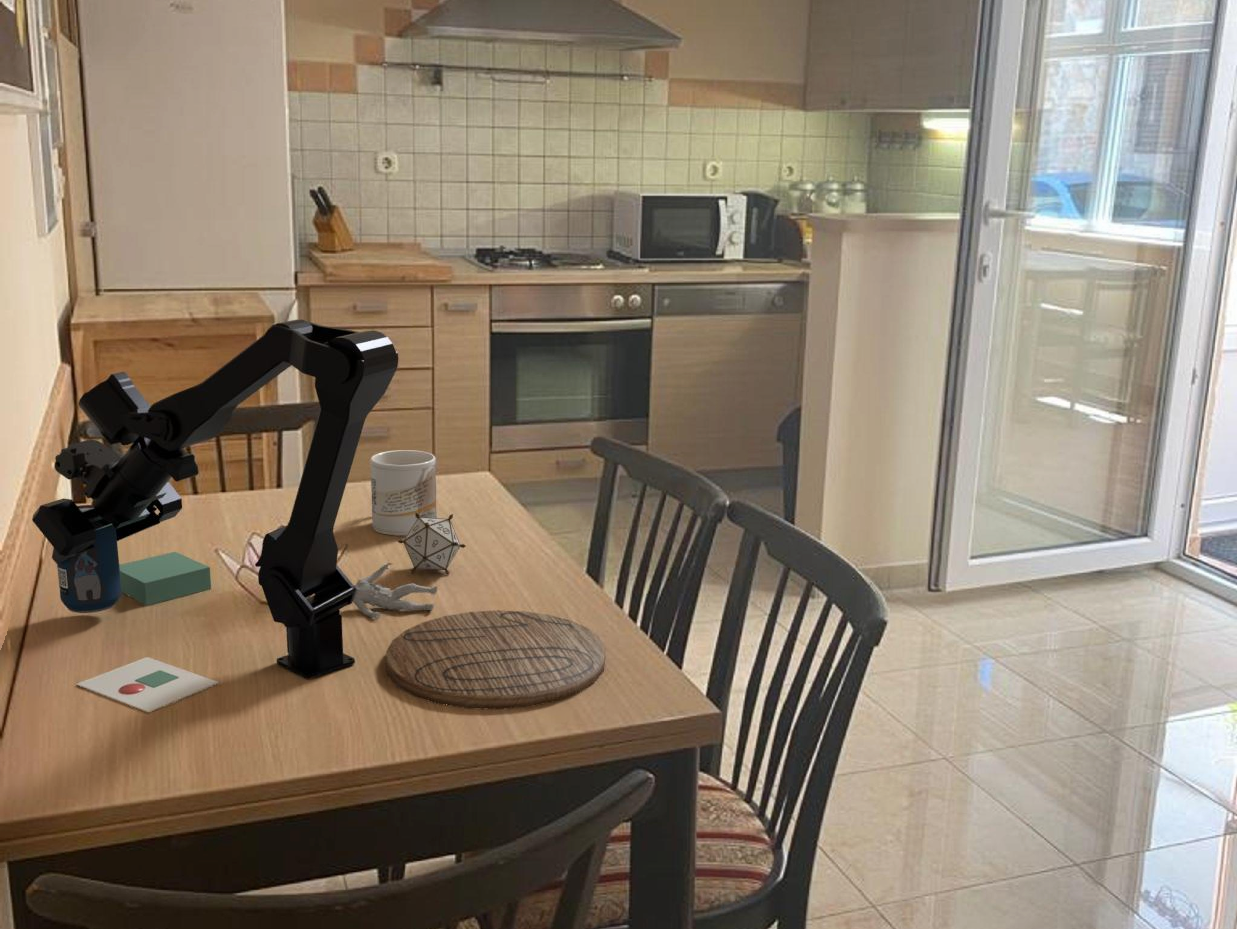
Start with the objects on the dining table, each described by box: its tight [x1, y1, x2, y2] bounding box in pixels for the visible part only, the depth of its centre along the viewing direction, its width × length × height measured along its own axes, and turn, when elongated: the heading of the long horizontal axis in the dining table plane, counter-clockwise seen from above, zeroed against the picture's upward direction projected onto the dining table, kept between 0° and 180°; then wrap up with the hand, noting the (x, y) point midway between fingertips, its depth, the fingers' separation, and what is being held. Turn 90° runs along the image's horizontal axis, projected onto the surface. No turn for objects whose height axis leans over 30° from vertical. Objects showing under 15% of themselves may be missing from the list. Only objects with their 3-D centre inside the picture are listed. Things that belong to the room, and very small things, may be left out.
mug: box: [370, 449, 437, 537], centre depth 194 cm, size 10×12×11 cm
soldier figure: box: [352, 562, 439, 620], centre depth 159 cm, size 8×5×12 cm
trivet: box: [386, 610, 606, 710], centre depth 144 cm, size 25×25×2 cm
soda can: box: [56, 504, 123, 614], centre depth 152 cm, size 7×7×12 cm
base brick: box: [119, 551, 212, 606], centre depth 165 cm, size 10×9×3 cm
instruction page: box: [76, 656, 220, 713], centre depth 136 cm, size 12×9×1 cm
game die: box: [397, 513, 467, 576], centre depth 173 cm, size 9×8×10 cm
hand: (78, 552), depth 153 cm, fingers closed on soda can, 7 cm apart
